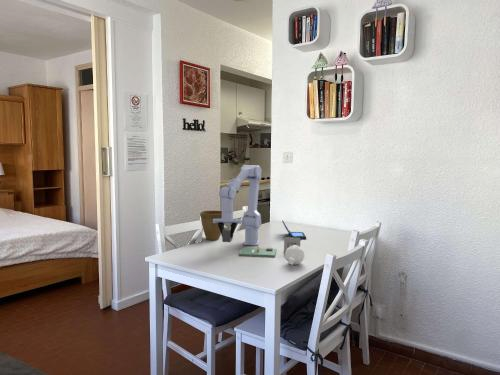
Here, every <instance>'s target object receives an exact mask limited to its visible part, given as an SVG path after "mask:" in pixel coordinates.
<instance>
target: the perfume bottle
mask: <svg viewBox="0 0 500 375" xmlns="http://www.w3.org/2000/svg"><path fill="white" fill-rule="evenodd" d="M284 256H285V257H284V258H285V260H286V261H287V264H289V265H299V264H300V263H302V262H303V261H304V258H305V251H304V250H303V248H302V247H301V246H300V247H299V246H297V245H293V246H290V247H289V248H287V249H286V252H285V253H284Z"/></svg>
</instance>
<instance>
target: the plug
mask: <svg viewBox="0 0 500 375" xmlns="http://www.w3.org/2000/svg"><path fill="white" fill-rule="evenodd" d="M221 239H222V241H221V242H222V243H231V242H232V241H233V238H231V227H224V229H223V230H222V235H221Z"/></svg>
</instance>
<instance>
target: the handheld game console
mask: <svg viewBox="0 0 500 375" xmlns="http://www.w3.org/2000/svg"><path fill="white" fill-rule="evenodd" d="M282 224H283V226H284V228H285V229H286V231H287V232H288V233H287V234H288V237H291V238H300V239H301V240H307V235H306V234H305V233H304V232H302V231H291V230H290V229H289V228H288V227H287V225H286V223H285V222H284V220H282Z"/></svg>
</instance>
